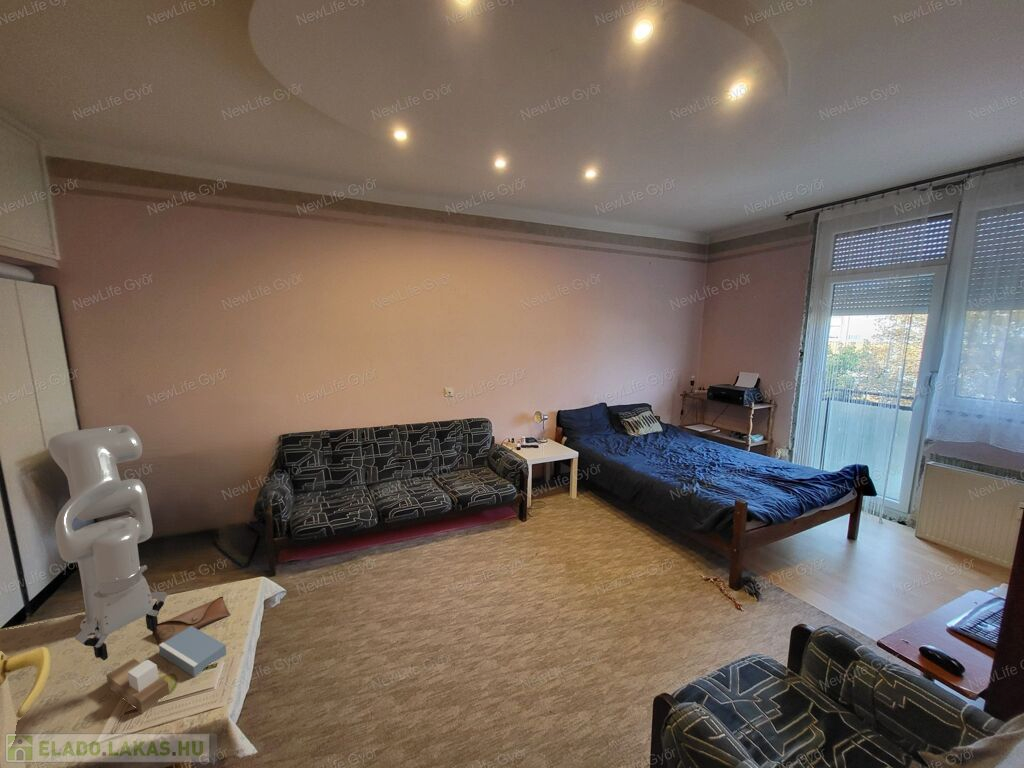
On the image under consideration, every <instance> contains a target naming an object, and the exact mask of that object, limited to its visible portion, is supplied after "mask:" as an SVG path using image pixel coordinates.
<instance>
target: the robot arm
mask: <svg viewBox="0 0 1024 768" xmlns="http://www.w3.org/2000/svg"><path fill="white" fill-rule="evenodd" d="M47 445H48V450H49V453H50V455H51V458H52V459H53V461H55V463H56V464H57V466H58V467H59V468H60V469H61V470H62V471H63V473H64V475H65V477H66V478H67V479H66V480H67V482H68V483H67V484H68V489H69V494H70V498H69V499H68V500H67V501H66V503H65V504H64V505H63V506H62V507H61V509H60V511H59V512H58V513H57V514H58V515H57V518H56V520H55V527H54V529H55V530H54V531H55V535H56V536H55V537H56V541H57V549H58V552H59V556H60V557H61V559H62V560H63V561H64V562H66V563H69V564H72V563H77V565H78V570H79V575H80V580H81V581H80V582H81V589H82V594H83V595H82V596H83V601H84V602H83V603H84V608H85V615H86V616H85V617H84V618H83V619H82V620H81V622H80V625H79V628H80V632H78V633H77V634H76V635H75V637H74V639H75V640H76V642H77V641H78V643H81V644H83V645H84V646H87V647H93V653H94V656H95V658H96V659H101V660H102V661H106V660H107V659H108V657H109V655H108V649H107V644H106V642H105V641H106V639H107V638H108V636H109V635H111V634H112V633H114V632H116V631H119V630H120V629H122V628H123V627H124V628H125V627H126V626H128V625H131V623H133V622H136V621H137V620H139V619H141V618H142V617H144V616H145V624H146V629H147V630H149V631H150V632H152V633H153V632H155V631H156V630H157V627H156V625H158V624H159V622H158V615H159V614H160V611H161V609H162V607H163V606H164V604H165V601H166V599H167V596H168V593H167V592H166V591H156V592H155V591H154V592H151V590H150V587H149V584H148V582H147V579H146V577H145V576H144V575H143V573H144V572H145V571H147V570H148V566H147V565H146V564H144V565H140V564H141V563H140V556H139V547H138V544H140V543H144V542H145V541H147V540H149V539H150V538H152V535H153V533H154V532H153V531H154V530H153V529H154V527H153V520H152V519H153V518H152V515H151V510H150V505H149V499H148V493H147V490H146V487H145V484H144V483H143V482H142V481H141V479H138V478H129V479H123V480H122V479H121V477H120V476H121V475H120V474H119V470H118V466H117V464H120V463H125V462H126V463H127V462H131V461H135V460H139V459H140V458H141V457H142V453H143V444H142V441H141V438H140V436H139V434H138V433H137V432H136V431H135V430H134V429H133V427H131V426H130V425H127V424H118V425H117V424H116V425H111V426H102V427H95V428H87V429H79V430H73V431H66V432H62V433H59V434H56V435H53V436H52V437H51V438H50V439H49V440H48V444H47ZM123 512H129V514H126V515H122V516H118V517H114V518H110V519H106V520H102V521H98V522H94V523H91V524H88V525H86V526H82V527H81V528H79V529H75V530H74V529H73V521H74V520H75V518H76V519H78V520H80V521H89V520H94V519H99V518H103V517H107V516H111V515H115V514H118V513H119V514H120V513H123ZM156 599H157V600H156ZM153 600H156V601H155V602H154V603H153ZM90 634H94V635H93V637H89V635H90Z"/></svg>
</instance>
